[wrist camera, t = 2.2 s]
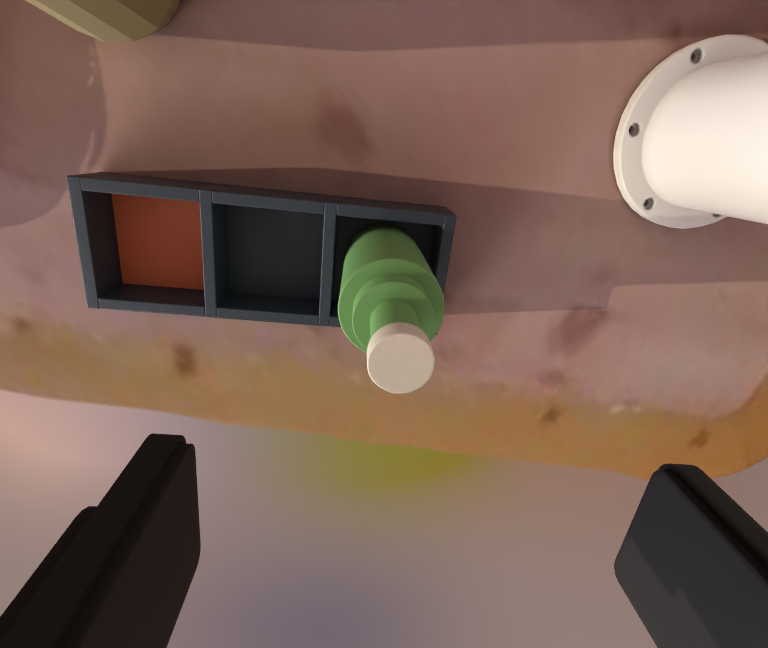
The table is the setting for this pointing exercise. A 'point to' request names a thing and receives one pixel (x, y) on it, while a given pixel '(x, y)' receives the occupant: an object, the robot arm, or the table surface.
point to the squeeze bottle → (111, 16)
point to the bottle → (390, 306)
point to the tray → (230, 246)
